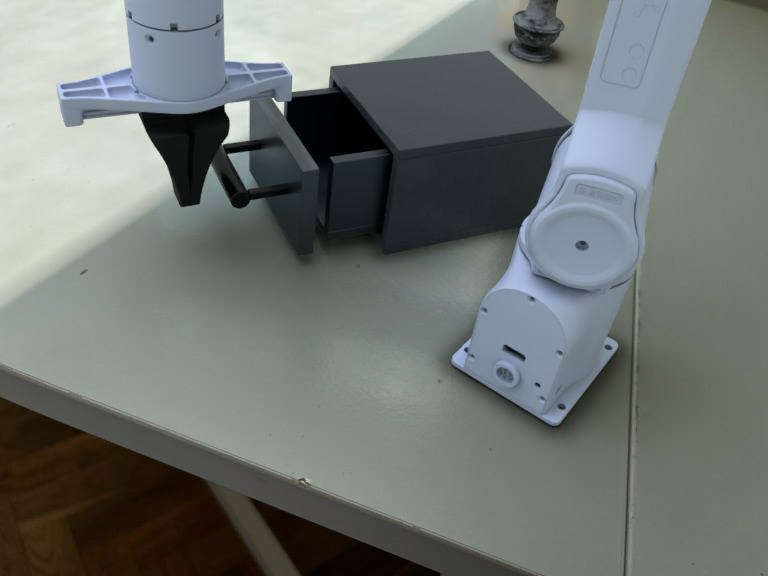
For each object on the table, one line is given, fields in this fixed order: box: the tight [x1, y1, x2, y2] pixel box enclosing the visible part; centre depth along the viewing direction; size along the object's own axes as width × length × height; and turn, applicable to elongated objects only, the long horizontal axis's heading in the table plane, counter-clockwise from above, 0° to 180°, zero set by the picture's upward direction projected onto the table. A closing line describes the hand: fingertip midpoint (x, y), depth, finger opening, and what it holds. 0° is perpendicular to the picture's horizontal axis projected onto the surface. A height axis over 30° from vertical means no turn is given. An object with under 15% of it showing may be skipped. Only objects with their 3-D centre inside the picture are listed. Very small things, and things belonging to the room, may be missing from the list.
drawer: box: [210, 87, 394, 257], centre depth 59 cm, size 18×11×7 cm, turn 115°
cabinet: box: [328, 50, 574, 255], centre depth 63 cm, size 15×13×9 cm
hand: (186, 198), depth 56 cm, fingers closed
